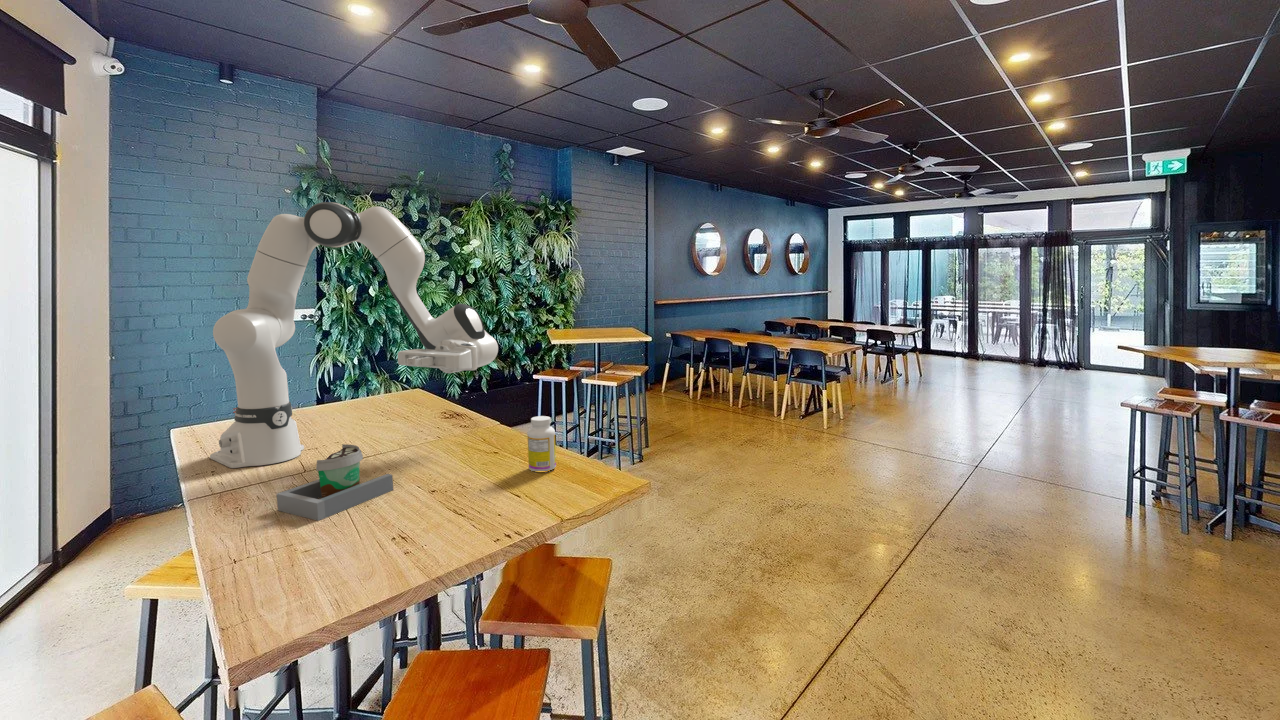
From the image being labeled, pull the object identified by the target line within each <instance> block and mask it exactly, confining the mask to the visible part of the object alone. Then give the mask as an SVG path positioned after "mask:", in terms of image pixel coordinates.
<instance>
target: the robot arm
mask: <svg viewBox="0 0 1280 720" xmlns="http://www.w3.org/2000/svg"><path fill="white" fill-rule="evenodd" d="M354 242H357V243H360V244H362V245H363V246H364V247H366V248H367V249H368V251H370V252H371V254H372V255H373V256H374V257H375V258H376V259H377V261H378V262H379V263H380V265H381V266H382V268H383V270H384V271H385V274H386V277H387V279H386V280H387V281H386V282H387V287H388V289H389V291H390V293H391V295H392V296H393V298H394V299H395V301H396V302H397V304H398V306H399V307H400V309H401V310H402V312H403V313H404V315H405V316H406V317H407V319H408V321H409V323H410V324H411V326H412V327H413V328H414V330H415V332H416V333H417V335H418V337H419V340H420V342H421V344H422V345H423V347H424V348H413V349H406V350H400V351H399V350H398V352H397V364H398V365H399V366H408V367H418V368H419V367H421V368H433V369H439V370H440V371H442V372H443V373H445V374H452V373H459V372H463V371H465V372H466V371H469V372H470V371H476V370H477V369H478V368H480V367H485V366H486V365H489V364H491V363H492V362H493V361H495V359H496V358H497V356H498V353H499V345H498V342H497V340H496V339H495V338H494V337H493V336H492V335H490V334H489V333H488V332H487V331H486V330H485V327H484V322H483V319H482V317H481V315H480V314H479V312H478V311H477V310H476V309H475V308H473V307H472V306H470V305H468V304H465V303H457V304H456V305H454V306H452V307H451V308H449V309H448V310H446V311H445V312H444V313H442V314H441V315H439V316H437V317H436V318H435V317H433V316H432V315H431V313H430V312H429V310H428V309H427V307H426V306H425V304H424V303H423V301H422V300H421V297H420V296H419V294H418V291H417V283H418V279H419V277H420V275H421V274H422V272H423V269H424V266H425V261H426V255H425V251H424V248H423V247H422V245H421V243H420V242H419V241H418V240H417V238H416V237H415V236H414V235H413V234H412V232H410V230H409V229H408V228H407V227H406V226H405V225H404V224H403V222H401V221H400V220H399V219H398V217H396V215H394V214H393V213H392V212H390V211H389V210H388V209H387V208H385V207H383V206H377V205H375V206H370V207H369V208H368V207H367V208H366V209H365V210H363V211H361V212H356V211H353V210H352V208H349V207H348V206H346V205H344V204H341V203H338V202H335V201H334V202H332V201H330V202H329V201H322V202H317V203H315V204H313V205H311V207H310V208H309V209H308V210H307V211H306V212H305V214H304V216H298V215H295V214H293V213H292V214H290V213H281V214H276V215H275V216H274V217H273V218H272V219H271V221H270V222H269V224H268V225H267V227H266V229H265V231H264V232H263V234H262V236H261V239H260V241H259V243H258V245H257V248H256V251H255V254H254V257H253V260H252V263H251V266H250V269H249V271H248V275H247V279H246V281H247V284H248V287H249V288H248V289H249V290H248V291H249V295H248V304H247V307H246V308H242V309H241V308H240V309H236V310H232V311H230V312H228V313H227V314H224V315H223V316H221V317H220V318H219V319H217V320H216V322H215V324H214V325H213V327H212V328H213V329H212V335H213V336H212V337H213V340H214V341H215V343H216V344H217V345H218V347H219V348H220V349H221V350H223V351H224V354H225V355H226V357H227V360H228V362H229V365H230V368H231V370H232V373H233V376H234V380H235V382H234V383H235V388H236V389H235V390H236V399H237V407H234V408H232V410H234V411H233V414H234V418H233V419H234V422H233V423H232V424H231V425H230V426H229V427H228V428H227V429H226V430H225V431H224V432H222V433H221V434H220V438H219V439H218V445H219V448H220V450H218V451H215V452H213V453H211V454H209V459H211V460H213V461H215V462H217V463H218V464H221V465H223V466H226V467H228V468H229V469H237V468H245V467H255V466H267V465H272V464H277V463H281V462H286V461H289V460H292V459H295V458H297V457H299V456H301V454H302V451H303V450H304V449H305V445H304V444H301V442H300V435H299V431H298V426H297V421H296V420H295V419H294V418H292V416H293V406H292V402H291V401H290V398H289V386H288V385H289V384H288V374H287V372H286V370H285V369H284V368H283V367H282V364H281V363H280V360H279V357H278V354H277V351H276V348H279V347H282V346H283V345H284V344H286V343H287V342H288V341H289V340H290V339H291V338H292V337H293V335H294V334H295V331H296V324H295V321H294V318H295V311H296V302H297V297H298V293H299V289H300V286H301V284H302V280H303V278H304V275H305V272H306V268H307V265H308V263H309V260H310V257H311V256H312V253H313V251H314V250H315V248H316V247H318V246H320V245H321V246H323V247H329V248H341V247H342V248H343V247H345V246H348V245H350V244H352V243H354Z"/></svg>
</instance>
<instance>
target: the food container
mask: <svg viewBox="0 0 1280 720" xmlns="http://www.w3.org/2000/svg"><path fill="white" fill-rule="evenodd" d="M341 447H342V448H341V449H340V450H338V451H336V452H334V453H331V454H329V456H328V457H326V458H325V459H316V465H315V466H316V467H315V469H316V472H317V471H318V480H319V481H320V488H321V495H322V497H321V498H324V497H327V496H329V495H332V494H335V493H337V492H340V491H343V490H345V489H348V488H351V487H353V486H356V485H359V484H360V483H359V482H360V468H361V467H360V463H361V461H362V460H363V458H364V456H363V453H362V450H361V449H360V447H359V446H357V445H355V444H347V443H346V444H345V443H344V444H342V445H341Z"/></svg>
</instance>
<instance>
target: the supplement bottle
mask: <svg viewBox="0 0 1280 720" xmlns="http://www.w3.org/2000/svg"><path fill="white" fill-rule="evenodd" d="M530 423H531V424H530V425H531V428H529V429H528V430H527V452H528V454H527V456H528V458H527V459H528V470H531V471H530V472H532V471H548V470H552V469H554V468H555V467H556V468H557V459H556V458H557V455H556V454H557V451H556V450H557V449H556V430H555V428H553V427H552V426H551V423H552V420H551V417H550V416H546V415H537V416H533V417H531V418H530ZM556 468H555V469H556ZM555 469H554V470H555ZM552 471H553V470H552Z"/></svg>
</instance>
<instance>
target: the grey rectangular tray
mask: <svg viewBox="0 0 1280 720" xmlns="http://www.w3.org/2000/svg"><path fill="white" fill-rule="evenodd" d="M393 481H394V479H393V474H391V473H385V474H383V475H381V476H378V477H375V478H372V479H369V480H366V481H365V482H362V483H361V482H360V481H359V485H356V486H353V487H351V488H348V489H345V490H343V491H340V492H337V493H335V494H332V495H329V496H327V497H324V498H322V495H321V488H320V481H319V479H315V480H313V481H310V482H307V483H304V484H301V485H298V486H296V487H293V488H290V489H286V490H283V491H281V492H278V493H276V501H277V503H276V505H277V511H279V512H283V513H287V514H291V515H294V516H298V517H303V518H306V519H310V520H313V521H314V520H315V521H317V522H319V521H322V520H323V519H327V518H328V517H331V516H333V515H336V514H338V513H341V512H342V511H343V512H344V511H345V510H348V509H350V508H353V507H355V506H357V505H360V504H362V503H366V502H367V501H369V500H372V499H375V498H377V497H379V496H382V495H385V494H387V493H389V492H392V491H394V482H393Z"/></svg>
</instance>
